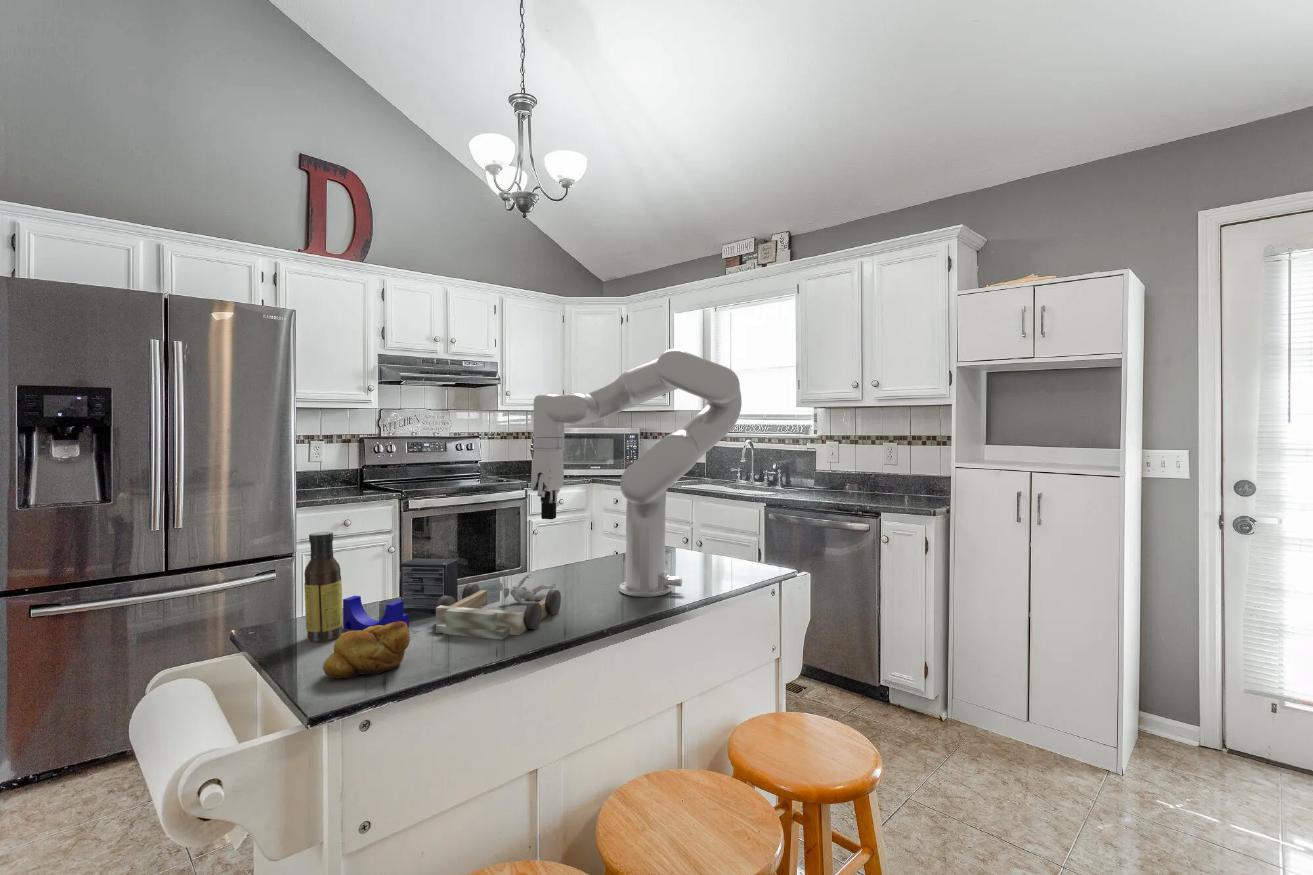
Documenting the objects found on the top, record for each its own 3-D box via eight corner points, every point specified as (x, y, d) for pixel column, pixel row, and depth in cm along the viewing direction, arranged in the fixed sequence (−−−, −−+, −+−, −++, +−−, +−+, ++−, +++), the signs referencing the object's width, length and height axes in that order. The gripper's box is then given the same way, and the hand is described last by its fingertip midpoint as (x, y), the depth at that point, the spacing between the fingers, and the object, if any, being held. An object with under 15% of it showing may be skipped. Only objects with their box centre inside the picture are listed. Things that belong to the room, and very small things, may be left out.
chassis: (561, 609, 137) (561, 587, 137) (519, 641, 118) (519, 614, 117) (475, 602, 143) (475, 580, 142) (420, 631, 123) (420, 606, 123)
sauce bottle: (346, 630, 123) (345, 529, 122) (338, 641, 117) (338, 534, 116) (310, 633, 121) (309, 530, 121) (300, 644, 115) (299, 536, 115)
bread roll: (327, 689, 96) (327, 637, 96) (316, 669, 104) (316, 621, 104) (414, 670, 104) (414, 621, 104) (398, 652, 112) (398, 607, 112)
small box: (459, 604, 141) (459, 558, 141) (446, 613, 135) (446, 564, 135) (414, 603, 142) (414, 556, 142) (399, 611, 136) (399, 563, 136)
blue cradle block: (408, 629, 125) (408, 599, 125) (392, 636, 120) (392, 605, 120) (360, 622, 129) (360, 593, 128) (343, 629, 124) (342, 599, 124)
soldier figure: (560, 605, 144) (514, 598, 137) (548, 616, 146) (502, 609, 139) (555, 576, 149) (510, 568, 142) (544, 587, 152) (499, 579, 144)
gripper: (547, 443, 164) (547, 513, 164) (521, 445, 149) (521, 522, 150) (574, 443, 162) (574, 515, 163) (550, 445, 148) (550, 524, 148)
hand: (548, 518), depth 156 cm, fingers closed
